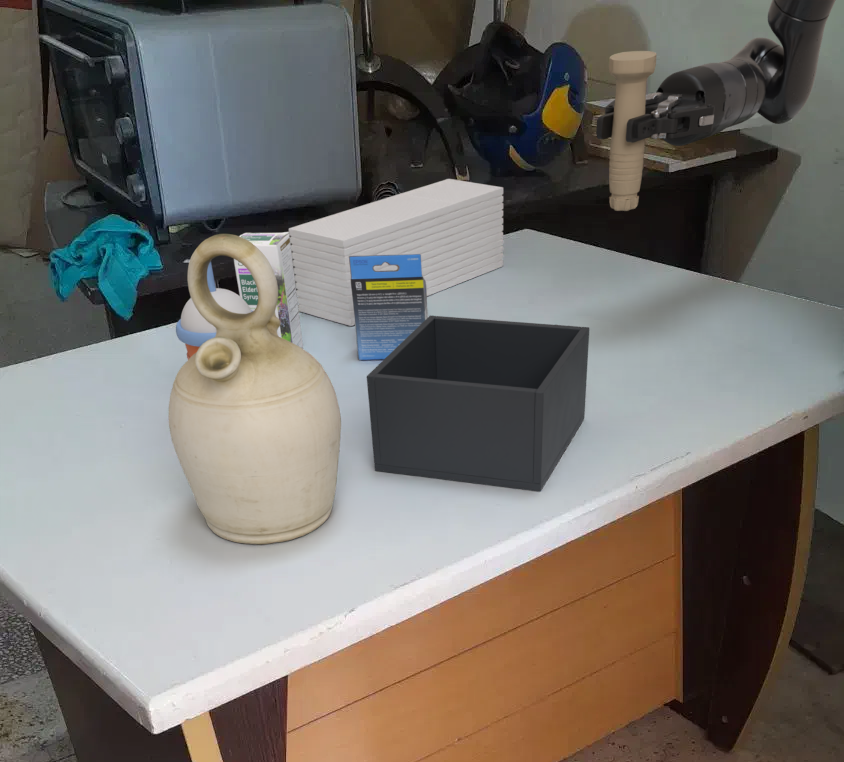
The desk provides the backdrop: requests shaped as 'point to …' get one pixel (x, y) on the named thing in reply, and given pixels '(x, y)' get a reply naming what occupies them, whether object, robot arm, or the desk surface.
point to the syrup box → (281, 262)
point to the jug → (253, 414)
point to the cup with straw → (198, 329)
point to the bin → (479, 401)
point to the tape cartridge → (386, 302)
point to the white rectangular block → (399, 242)
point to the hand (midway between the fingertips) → (614, 130)
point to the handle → (628, 104)
